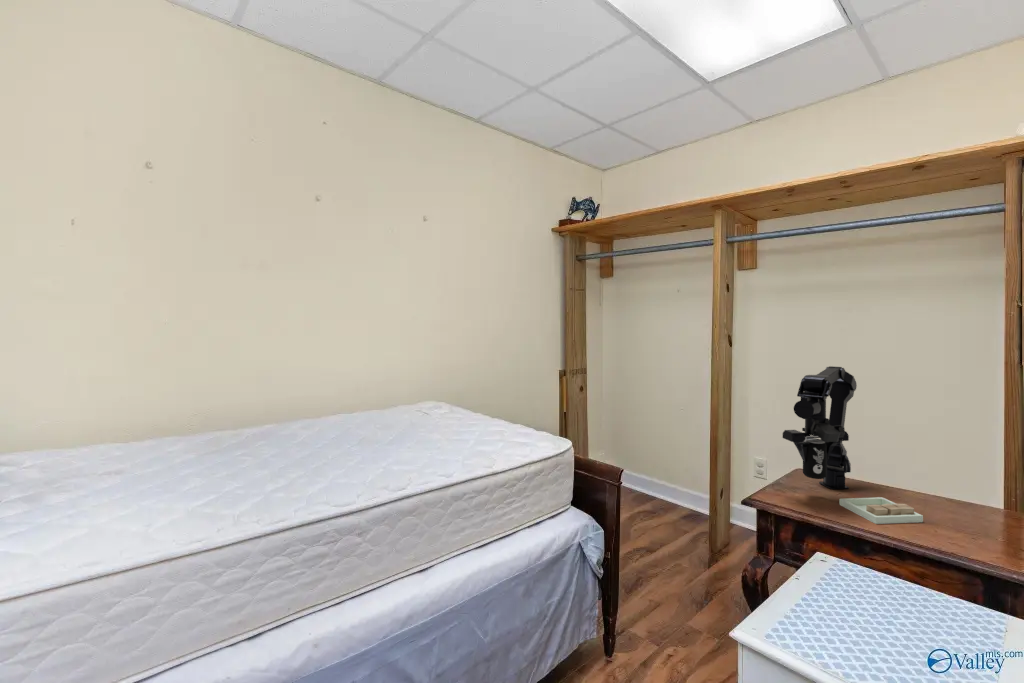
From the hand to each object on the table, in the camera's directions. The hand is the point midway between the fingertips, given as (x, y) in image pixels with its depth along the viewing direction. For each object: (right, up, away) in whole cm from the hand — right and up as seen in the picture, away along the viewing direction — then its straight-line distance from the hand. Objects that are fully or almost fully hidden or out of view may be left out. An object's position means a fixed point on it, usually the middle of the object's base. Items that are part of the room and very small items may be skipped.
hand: (814, 461), depth 152 cm
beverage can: (0, -5, 0) cm, 5 cm away
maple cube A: (+8, -13, -16) cm, 22 cm away
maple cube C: (+16, -13, -16) cm, 26 cm away
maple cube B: (+12, -13, -16) cm, 23 cm away
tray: (+12, -13, -12) cm, 21 cm away
